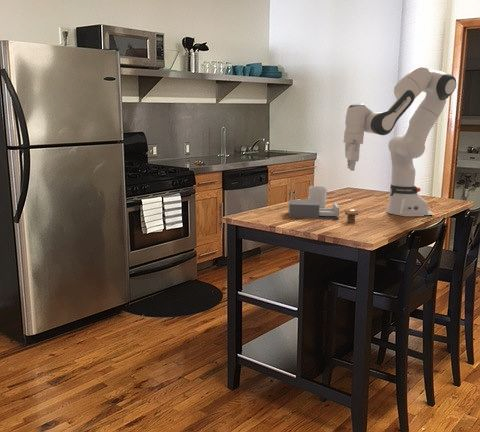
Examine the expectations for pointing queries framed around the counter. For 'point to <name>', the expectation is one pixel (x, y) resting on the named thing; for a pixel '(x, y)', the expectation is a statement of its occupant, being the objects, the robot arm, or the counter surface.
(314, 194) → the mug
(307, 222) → the counter surface
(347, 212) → the disc
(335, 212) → the white bracket
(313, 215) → the housing
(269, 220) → the counter surface
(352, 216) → the pedestal
